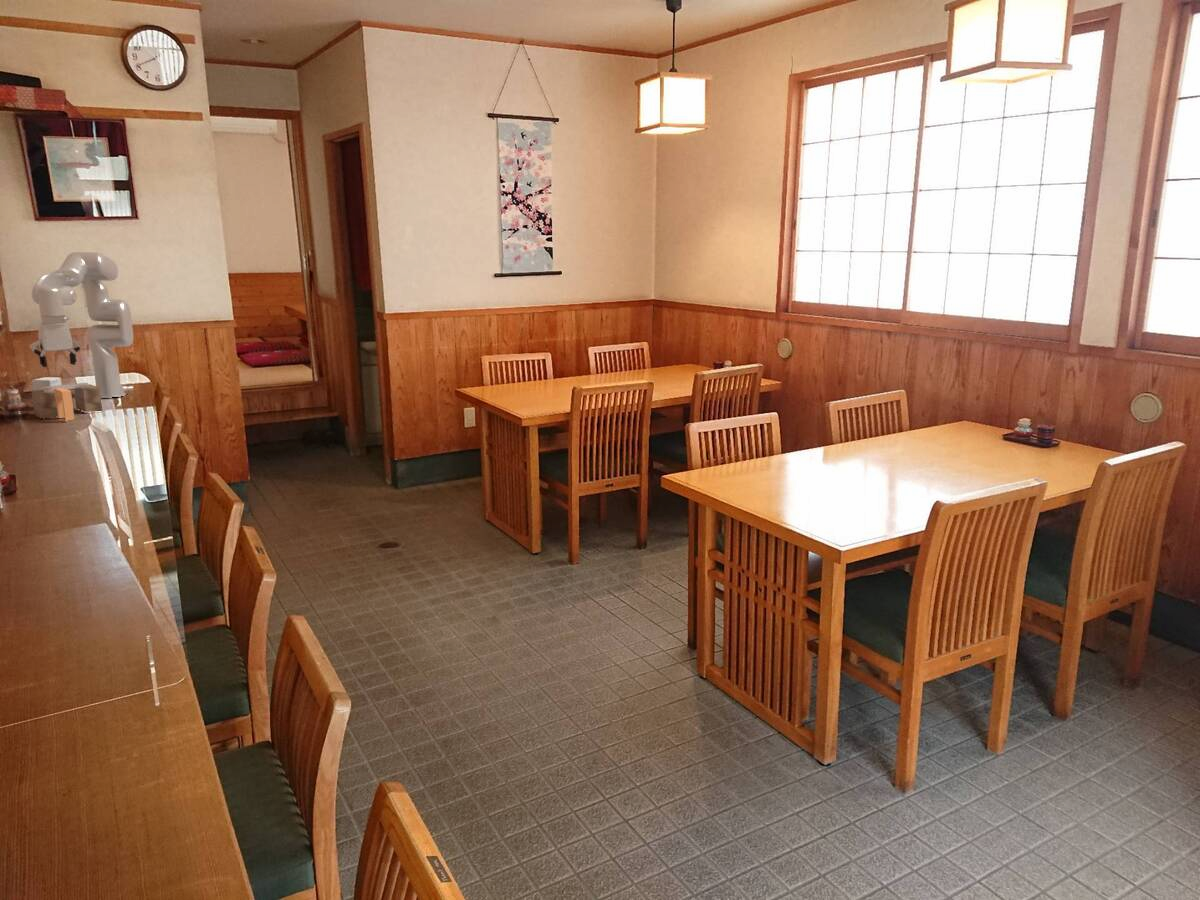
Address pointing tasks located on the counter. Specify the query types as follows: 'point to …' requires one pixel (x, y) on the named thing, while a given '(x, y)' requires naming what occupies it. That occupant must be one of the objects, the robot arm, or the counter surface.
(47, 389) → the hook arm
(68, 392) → the orange wooden block
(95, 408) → the shelf
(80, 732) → the counter surface
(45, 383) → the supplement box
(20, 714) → the counter surface
